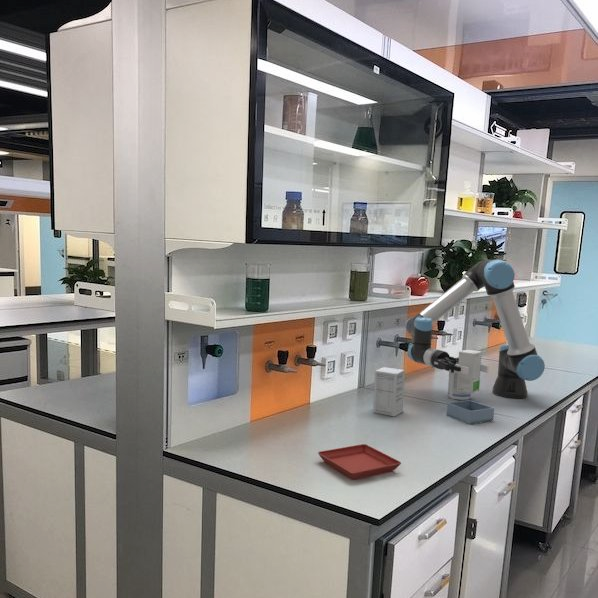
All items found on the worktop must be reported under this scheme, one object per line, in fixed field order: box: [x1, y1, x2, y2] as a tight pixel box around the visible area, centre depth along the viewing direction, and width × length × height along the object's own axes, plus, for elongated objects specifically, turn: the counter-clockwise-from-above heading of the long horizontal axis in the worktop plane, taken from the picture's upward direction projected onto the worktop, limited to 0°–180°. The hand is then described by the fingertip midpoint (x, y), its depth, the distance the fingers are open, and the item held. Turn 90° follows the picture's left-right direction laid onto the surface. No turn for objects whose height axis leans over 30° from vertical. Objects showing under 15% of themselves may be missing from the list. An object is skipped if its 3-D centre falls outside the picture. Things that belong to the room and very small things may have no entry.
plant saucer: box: [317, 443, 402, 480], centre depth 171 cm, size 18×18×3 cm
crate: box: [446, 399, 495, 425], centre depth 225 cm, size 12×12×5 cm
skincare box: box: [457, 349, 482, 395], centre depth 224 cm, size 8×7×16 cm
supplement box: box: [372, 366, 406, 417], centre depth 228 cm, size 10×9×17 cm
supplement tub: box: [447, 370, 471, 401], centre depth 255 cm, size 10×10×15 cm
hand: (477, 370), depth 220 cm, fingers closed on skincare box, 9 cm apart
